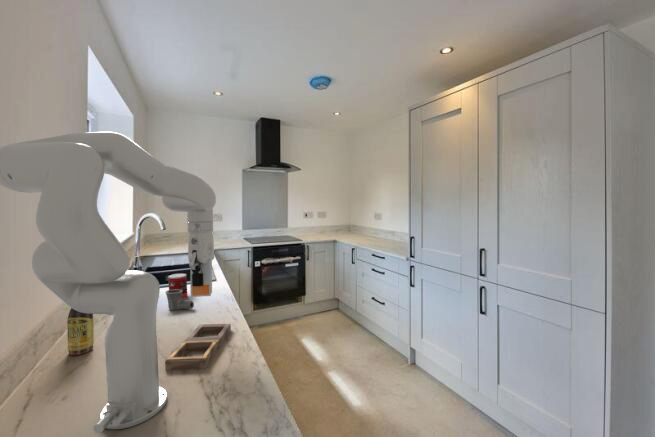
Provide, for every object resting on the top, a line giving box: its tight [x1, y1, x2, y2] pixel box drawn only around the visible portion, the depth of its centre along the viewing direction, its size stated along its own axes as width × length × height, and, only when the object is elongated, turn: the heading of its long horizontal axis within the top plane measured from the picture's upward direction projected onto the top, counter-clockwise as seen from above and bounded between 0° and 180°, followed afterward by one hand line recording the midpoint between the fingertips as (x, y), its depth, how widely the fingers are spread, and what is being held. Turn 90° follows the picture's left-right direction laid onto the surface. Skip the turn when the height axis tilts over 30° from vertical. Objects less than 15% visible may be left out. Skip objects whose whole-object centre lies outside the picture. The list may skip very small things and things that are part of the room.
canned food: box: [167, 273, 188, 299], centre depth 142 cm, size 8×8×11 cm
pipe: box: [164, 289, 195, 311], centre depth 126 cm, size 6×13×8 cm, turn 77°
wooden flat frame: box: [164, 323, 232, 371], centre depth 92 cm, size 24×11×3 cm, turn 2°
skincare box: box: [189, 258, 213, 298], centre depth 92 cm, size 6×4×12 cm
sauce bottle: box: [66, 307, 95, 356], centre depth 90 cm, size 6×6×20 cm
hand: (201, 283), depth 92 cm, fingers closed on skincare box, 5 cm apart
